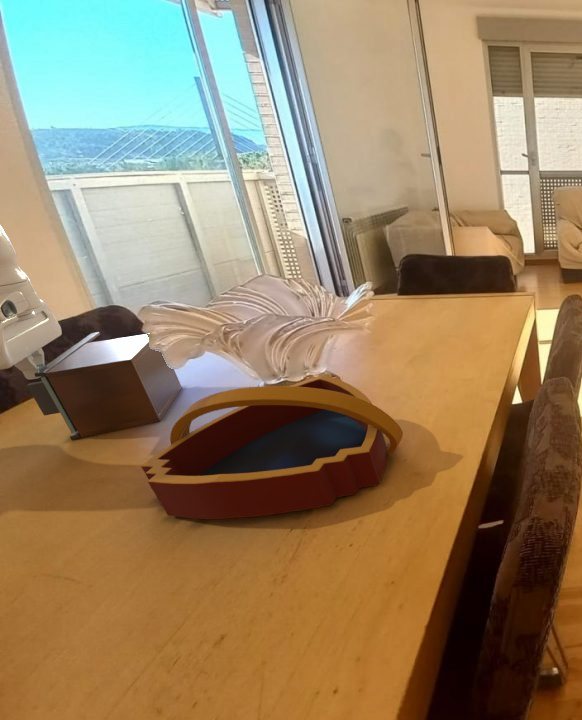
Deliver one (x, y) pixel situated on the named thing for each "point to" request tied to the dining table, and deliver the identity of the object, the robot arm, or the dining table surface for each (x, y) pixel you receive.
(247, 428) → the decorative basket
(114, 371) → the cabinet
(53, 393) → the grey sliding lid
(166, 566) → the dining table surface
